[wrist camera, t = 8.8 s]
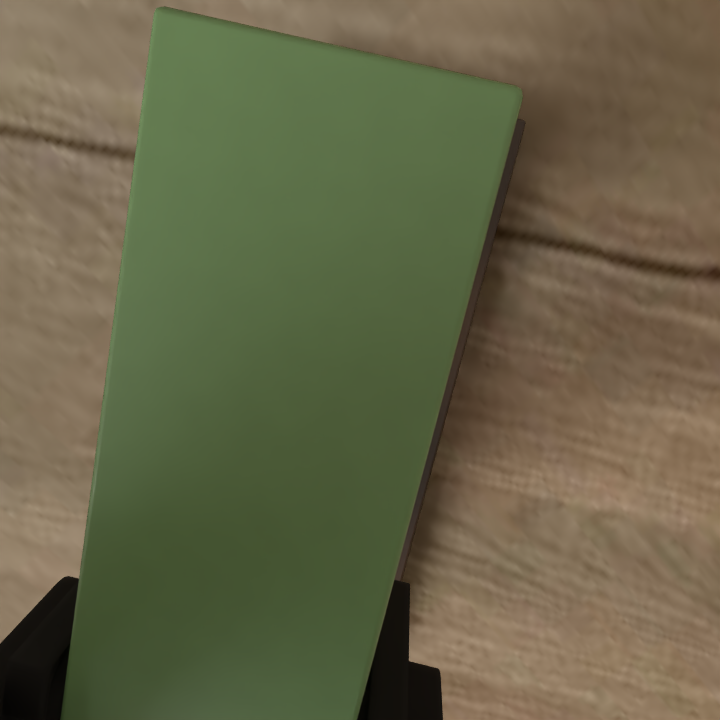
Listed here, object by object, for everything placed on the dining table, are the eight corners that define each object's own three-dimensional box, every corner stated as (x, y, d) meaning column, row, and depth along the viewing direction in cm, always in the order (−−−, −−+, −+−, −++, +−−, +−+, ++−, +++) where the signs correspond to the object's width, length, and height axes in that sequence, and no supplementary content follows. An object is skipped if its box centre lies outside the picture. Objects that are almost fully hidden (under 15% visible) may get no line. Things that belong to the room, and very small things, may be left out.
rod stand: (296, 72, 23) (235, 7, 15) (521, 124, 23) (577, 84, 15) (197, 610, 29) (113, 768, 21) (378, 655, 28) (364, 831, 20)
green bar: (254, 79, 10) (150, 1, 6) (482, 131, 10) (526, 86, 6) (105, 953, 14) (-11, 1232, 10) (262, 995, 14) (204, 1292, 10)
